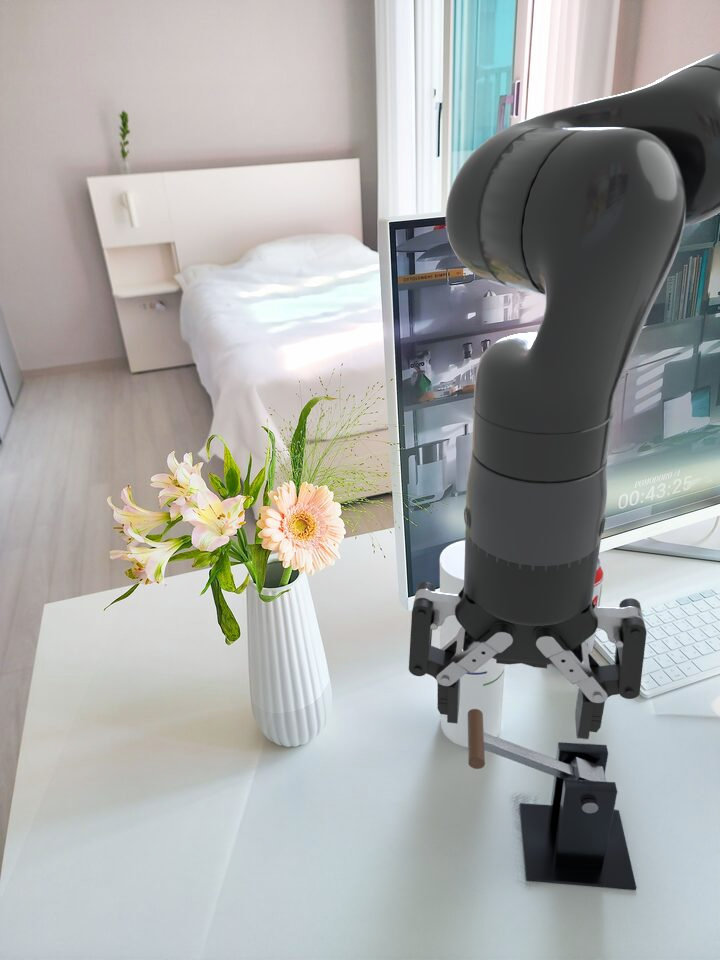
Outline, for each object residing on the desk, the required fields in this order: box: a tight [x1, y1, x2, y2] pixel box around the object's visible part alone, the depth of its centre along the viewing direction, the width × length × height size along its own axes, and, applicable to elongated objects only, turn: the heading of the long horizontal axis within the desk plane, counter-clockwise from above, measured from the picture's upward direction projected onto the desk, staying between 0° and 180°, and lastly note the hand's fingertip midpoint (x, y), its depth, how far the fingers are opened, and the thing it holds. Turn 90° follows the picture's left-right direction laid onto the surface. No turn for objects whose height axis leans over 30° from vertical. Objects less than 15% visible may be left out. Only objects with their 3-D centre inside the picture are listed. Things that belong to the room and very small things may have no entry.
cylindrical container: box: [439, 539, 506, 748], centre depth 76 cm, size 7×7×25 cm
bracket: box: [519, 741, 637, 891], centre depth 65 cm, size 10×8×13 cm
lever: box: [467, 709, 607, 782], centre depth 62 cm, size 13×6×2 cm, turn 83°
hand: (515, 721), depth 47 cm, fingers open, 8 cm apart
